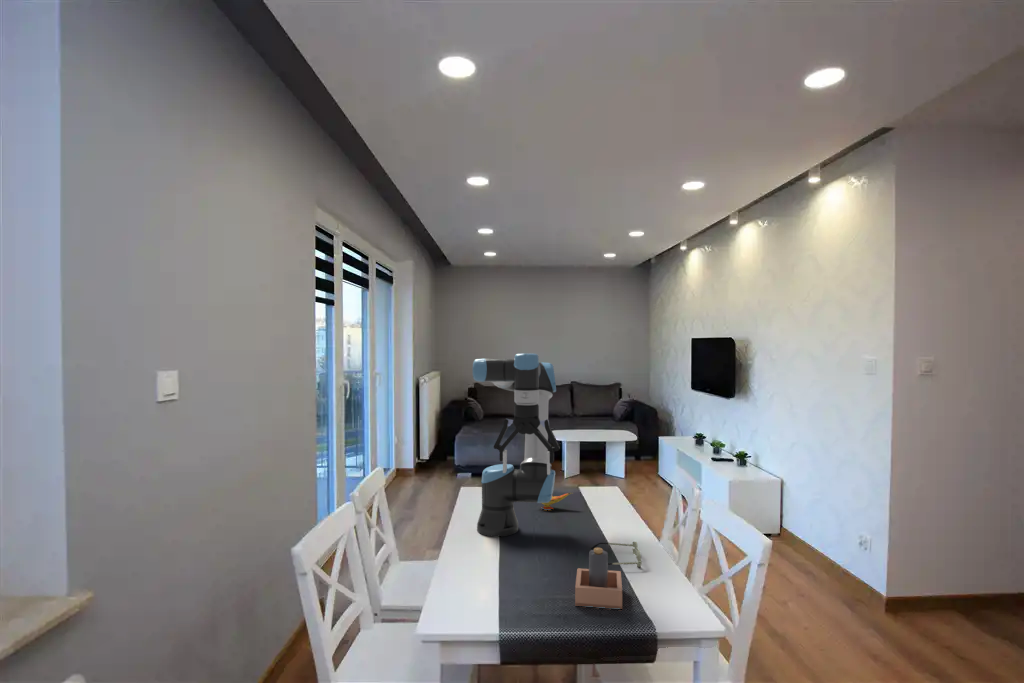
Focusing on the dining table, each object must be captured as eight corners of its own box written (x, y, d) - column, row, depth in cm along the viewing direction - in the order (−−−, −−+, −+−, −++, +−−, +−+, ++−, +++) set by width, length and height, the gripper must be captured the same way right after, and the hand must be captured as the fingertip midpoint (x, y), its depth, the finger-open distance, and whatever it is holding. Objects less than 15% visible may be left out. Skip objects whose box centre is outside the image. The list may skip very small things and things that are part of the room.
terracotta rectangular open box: (575, 606, 141) (575, 587, 141) (577, 585, 152) (577, 568, 152) (622, 610, 139) (622, 590, 139) (620, 589, 150) (620, 571, 150)
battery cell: (588, 597, 144) (588, 552, 144) (589, 588, 148) (589, 545, 148) (607, 598, 143) (607, 553, 143) (607, 590, 148) (607, 546, 148)
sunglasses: (642, 573, 161) (642, 557, 161) (591, 571, 163) (591, 555, 163) (635, 551, 178) (635, 536, 178) (588, 550, 180) (588, 535, 180)
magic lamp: (573, 511, 219) (573, 484, 219) (529, 510, 220) (528, 483, 220) (573, 506, 225) (572, 480, 225) (529, 505, 227) (529, 479, 227)
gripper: (484, 404, 164) (484, 474, 164) (566, 405, 160) (566, 477, 160) (489, 401, 172) (489, 468, 172) (568, 402, 167) (568, 471, 167)
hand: (526, 472), depth 166 cm, fingers open, 13 cm apart
